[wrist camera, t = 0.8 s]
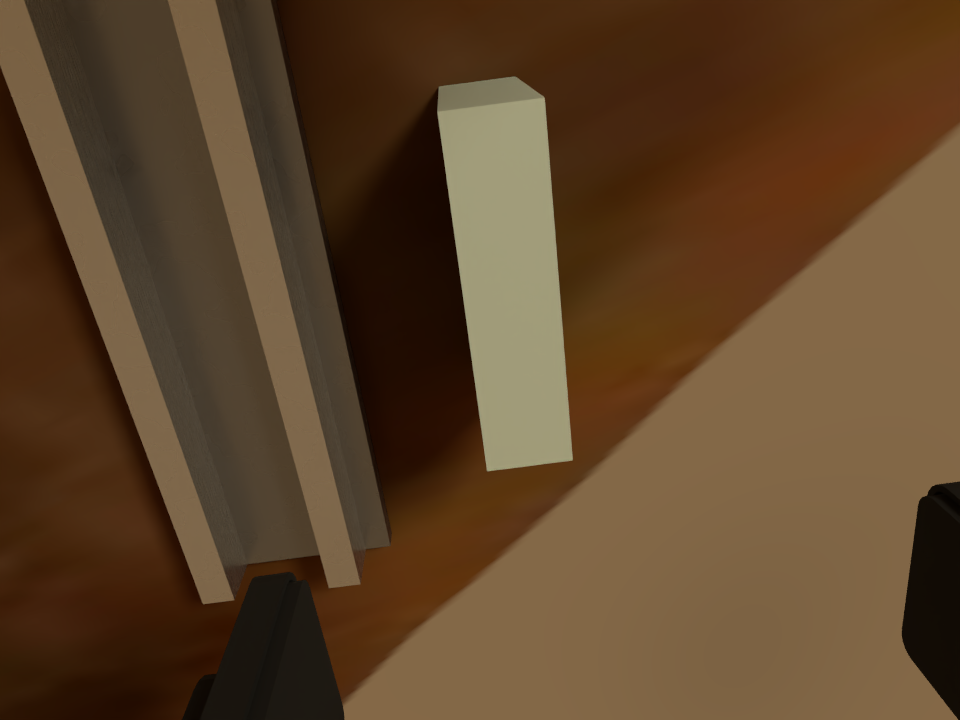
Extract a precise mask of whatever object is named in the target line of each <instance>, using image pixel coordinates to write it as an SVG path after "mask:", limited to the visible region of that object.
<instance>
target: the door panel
mask: <svg viewBox="0 0 960 720" xmlns="http://www.w3.org/2000/svg"><path fill="white" fill-rule="evenodd" d="M437 113H438V120H439V127H440V135H441V142H442V149H443V156H444V163H445V171H446V178H447V185H448V192H449V200H450V207H451V214H452V221H453V228H454V236H455V243H456V250H457V257H458V264H459V272H460V279H461V286H462V293H463V300H464V308H465V315H466V322H467V329H468V336H469V344H470V351H471V358H472V365H473V372H474V380H475V387H476V394H477V401H478V408H479V416H480V423H481V430H482V437H483V444H484V452H485V459H486V466H487V471H493V470H501V469H509V468H516V467H524V466H532V465H540V464H548V463H555V462H563V461H571V460H573V458H572V445H571V432H570V419H569V406H568V393H567V381H566V368H565V355H564V342H563V329H562V316H561V303H560V290H559V277H558V265H557V252H556V239H555V226H554V213H553V200H552V187H551V174H550V161H549V149H548V136H547V123H546V110H545V98H544V97H543V96H542V95H540V94H539V93H537V92H536V91H535V90H533V89H532V88H530V87H529V86H528V85H526V84H525V83H523V82H522V81H521V80H519V79H518V78H516V77H508V78H500V79H493V80H485V81H478V82H470V83H463V84H455V85H448V86H440V87H439V92H438V109H437Z"/></svg>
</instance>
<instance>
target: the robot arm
mask: <svg viewBox="0 0 960 720" xmlns="http://www.w3.org/2000/svg"><path fill="white" fill-rule="evenodd" d="M902 639H903V643H904V646H905V649H906V651H907V653H908V655H909V656H910V658H911V659H912V661H913V662H914V663H915V664H916V666H917V667H918V668H919V670H920V671H921V672H922V673H923V675H924V676H925V677H926V678H927V680H928V681H929V682H930V684H931V685H932V686H933V688H934V689H935V690H936V691H937V693H938V694H939V695H940V697H941V698H942V699H943V700H944V702H945V703H946V704H947V706H948V707H949V708H950V709H951V710H952V712H953V713H954V715H955V716H956V717H957V718H958V720H960V482H954V483H946V484H939V485H935V486H932V487H931V489H930V490H929V492H928V495H927V496H925V497H922V498H921V499H920V501H919V504H918V511H917V519H916V527H915V534H914V542H913V549H912V557H911V565H910V573H909V580H908V587H907V595H906V603H905V610H904V619H903V626H902ZM182 720H344V710H343V705H342V701H341V698H340V694H339V691H338V687H337V684H336V680H335V676H334V673H333V669H332V666H331V662H330V658H329V655H328V651H327V648H326V644H325V641H324V637H323V633H322V630H321V626H320V623H319V619H318V615H317V612H316V608H315V605H314V601H313V598H312V594H311V590H310V587H309V584H308V582H307V581H306V580H301V581H297V580H296V577H295V576H294V574H293V573H291V572H287V573H280V574H273V575H265V576H258V577H255V578H253V579H252V581H251V583H250V585H249V588H248V591H247V593H246V596H245V599H244V601H243V604H242V607H241V610H240V612H239V615H238V618H237V620H236V623H235V626H234V628H233V631H232V634H231V637H230V639H229V642H228V645H227V647H226V650H225V653H224V656H223V658H222V661H221V664H220V666H219V669H218V672H217V674H211V675H204V676H203V677H202V678H201V679H200V680H199V681H198V683H197V685H196V687H195V689H194V691H193V694H192V696H191V699H190V701H189V704H188V706H187V709H186V711H185V714H184V716H183V719H182Z"/></svg>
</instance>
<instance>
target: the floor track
mask: <svg viewBox="0 0 960 720" xmlns="http://www.w3.org/2000/svg"><path fill="white" fill-rule="evenodd" d="M0 66H1V69H2V72H3V74H4V77H5V80H6V82H7V85H8V88H9V90H10V93H11V96H12V98H13V101H14V104H15V106H16V109H17V112H18V114H19V117H20V119H21V122H22V125H23V127H24V130H25V133H26V135H27V138H28V141H29V143H30V146H31V149H32V151H33V154H34V157H35V159H36V162H37V165H38V167H39V170H40V173H41V175H42V178H43V181H44V183H45V186H46V189H47V191H48V194H49V197H50V199H51V202H52V204H53V207H54V210H55V212H56V215H57V218H58V220H59V223H60V226H61V228H62V231H63V234H64V236H65V239H66V242H67V244H68V247H69V250H70V252H71V255H72V258H73V260H74V263H75V266H76V268H77V271H78V274H79V276H80V279H81V282H82V284H83V287H84V289H85V292H86V295H87V297H88V300H89V303H90V305H91V308H92V311H93V313H94V316H95V319H96V321H97V324H98V327H99V329H100V332H101V335H102V337H103V340H104V343H105V345H106V348H107V351H108V353H109V356H110V359H111V361H112V364H113V367H114V369H115V372H116V374H117V377H118V380H119V382H120V385H121V388H122V390H123V393H124V396H125V398H126V401H127V404H128V406H129V409H130V412H131V414H132V417H133V420H134V422H135V425H136V428H137V430H138V433H139V436H140V438H141V441H142V444H143V446H144V449H145V452H146V454H147V457H148V459H149V462H150V465H151V467H152V470H153V473H154V475H155V478H156V481H157V483H158V486H159V489H160V491H161V494H162V497H163V499H164V502H165V505H166V507H167V510H168V513H169V515H170V518H171V521H172V523H173V526H174V529H175V531H176V534H177V537H178V539H179V542H180V544H181V547H182V550H183V552H184V555H185V558H186V560H187V563H188V566H189V568H190V571H191V574H192V576H193V579H194V582H195V584H196V587H197V590H198V592H199V595H200V598H201V600H202V603H203V604H208V603H216V602H224V601H232V600H235V597H236V594H237V592H238V589H239V586H240V583H241V581H242V578H243V575H244V572H245V570H246V567H247V564H252V563H260V562H268V561H276V560H284V559H291V558H299V557H307V556H315V555H320V557H321V561H322V564H323V568H324V572H325V575H326V579H327V583H328V586H329V588H334V587H342V586H350V585H358V584H361V578H362V571H363V564H364V557H365V550H366V549H370V548H378V547H386V546H390V545H391V535H392V532H391V528H390V523H389V519H388V514H387V509H386V505H385V500H384V495H383V491H382V486H381V482H380V477H379V472H378V468H377V463H376V458H375V454H374V449H373V445H372V440H371V435H370V431H369V426H368V421H367V417H366V412H365V408H364V403H363V398H362V394H361V389H360V384H359V380H358V375H357V371H356V366H355V361H354V357H353V352H352V347H351V343H350V338H349V334H348V329H347V324H346V320H345V315H344V310H343V306H342V301H341V297H340V292H339V287H338V283H337V278H336V273H335V269H334V264H333V260H332V255H331V250H330V246H329V241H328V237H327V232H326V227H325V223H324V218H323V213H322V209H321V204H320V200H319V195H318V190H317V186H316V181H315V176H314V172H313V167H312V163H311V158H310V153H309V149H308V144H307V139H306V135H305V130H304V126H303V121H302V116H301V112H300V107H299V102H298V98H297V93H296V89H295V84H294V79H293V75H292V70H291V65H290V61H289V56H288V52H287V47H286V42H285V38H284V33H283V28H282V24H281V19H280V15H279V10H278V5H277V1H276V0H0Z"/></svg>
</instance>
